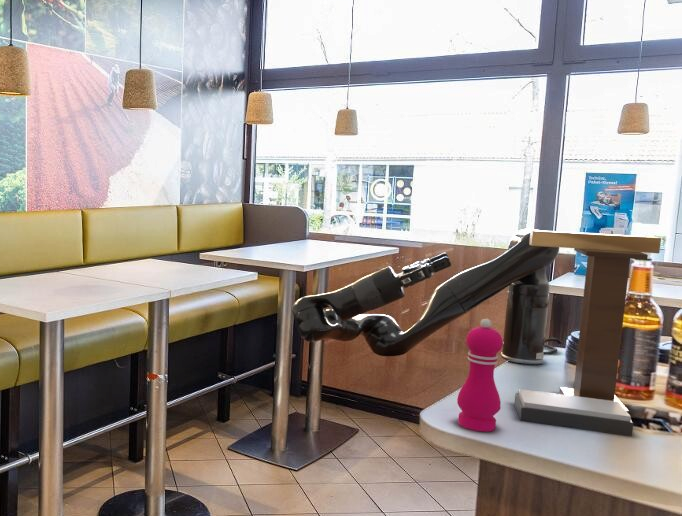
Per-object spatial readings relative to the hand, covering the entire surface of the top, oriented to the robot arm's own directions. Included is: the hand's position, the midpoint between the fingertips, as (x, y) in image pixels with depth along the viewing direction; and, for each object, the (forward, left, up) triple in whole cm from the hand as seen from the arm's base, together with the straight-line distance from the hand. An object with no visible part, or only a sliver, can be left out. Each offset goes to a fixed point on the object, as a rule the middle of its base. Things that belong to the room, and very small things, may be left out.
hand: (448, 258), depth 149 cm
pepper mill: (+24, +6, -28) cm, 38 cm away
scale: (+12, +23, -28) cm, 38 cm away
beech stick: (0, +26, +4) cm, 27 cm away
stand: (0, +29, -28) cm, 40 cm away
